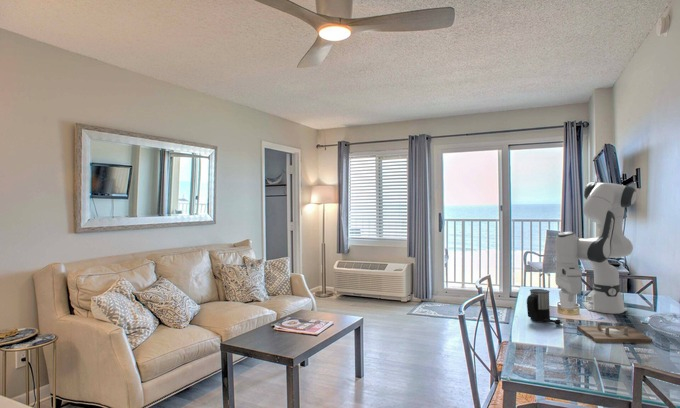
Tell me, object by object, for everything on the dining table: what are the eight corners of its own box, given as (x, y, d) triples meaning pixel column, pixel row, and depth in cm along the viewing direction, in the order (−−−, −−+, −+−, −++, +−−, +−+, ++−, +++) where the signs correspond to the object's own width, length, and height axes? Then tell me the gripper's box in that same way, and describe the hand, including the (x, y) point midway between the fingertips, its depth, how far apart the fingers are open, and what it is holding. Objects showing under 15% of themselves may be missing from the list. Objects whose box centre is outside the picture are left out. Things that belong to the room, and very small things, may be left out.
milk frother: (533, 316, 215) (532, 287, 215) (567, 321, 205) (566, 291, 205) (525, 323, 204) (524, 293, 204) (560, 328, 194) (559, 296, 194)
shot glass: (579, 309, 181) (578, 293, 181) (561, 309, 182) (561, 293, 182) (573, 305, 188) (573, 289, 187) (557, 305, 189) (556, 289, 189)
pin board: (577, 329, 192) (576, 319, 192) (628, 329, 189) (628, 319, 189) (594, 342, 175) (594, 331, 175) (652, 342, 171) (652, 331, 171)
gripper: (551, 264, 195) (552, 294, 196) (567, 272, 175) (568, 305, 175) (565, 264, 194) (566, 294, 195) (584, 272, 174) (585, 305, 174)
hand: (567, 299), depth 185 cm, fingers closed on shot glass, 5 cm apart
